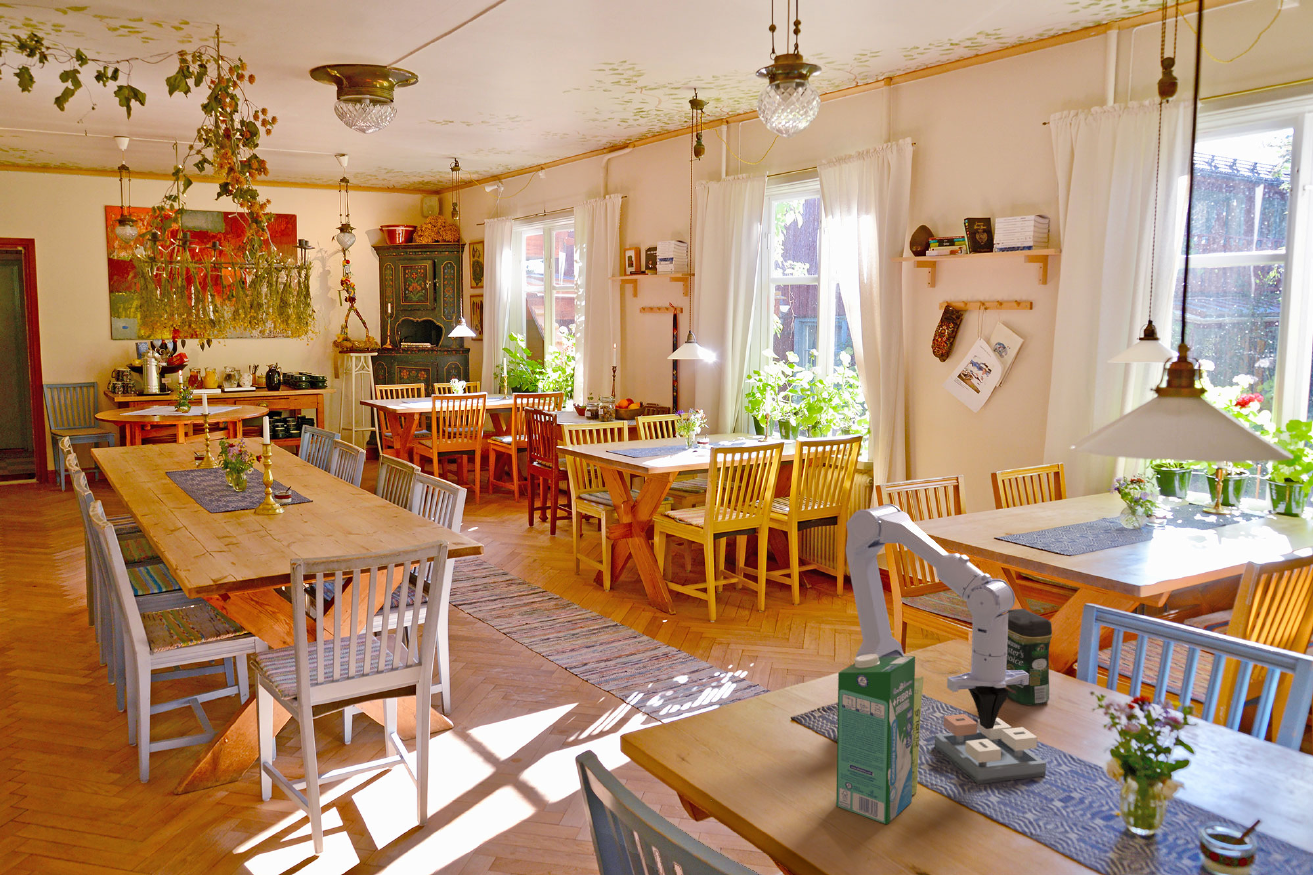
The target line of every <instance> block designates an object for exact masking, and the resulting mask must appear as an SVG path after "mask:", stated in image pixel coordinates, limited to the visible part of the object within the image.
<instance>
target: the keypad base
mask: <svg viewBox="0 0 1313 875" xmlns="http://www.w3.org/2000/svg"><path fill="white" fill-rule="evenodd" d="M980 739H988V740H990V739H989V738H987V737H986V736H985V735H983V734H982V733H981V732H979V731H978V729H977V734H972V735H964V742H957V741H956V736H955V735H954V734H952V733H951V732H947V733H938V734H934V748H935V749H936V750H938V751H939V752H940V754H942V755H943V756H944V757H946V759H948V760H949V761H950V762H951V763H953V764H954V766H956V767H957V768H958V769H959V770H961V771H962V772H963V773H964V774H965V775H966V776H967V777H968V778H970V779H971V780H973V782H975V783H976V784H977V785H982V784H990V783H991V784H992V783H999V782H1009V781H1014V780H1022V779H1023V780H1024V779H1032V778H1039V777H1046V773H1047V772H1046V771H1047V770H1046V769H1047V768H1046V767H1047V763H1046V761H1044V760H1043V759H1041V758H1040V757H1039V756H1038V755H1036V754H1034V752H1032V751H1030V749H1025V750H1023V756H1022V757H1017V756H1015V755H1014V749H1012V748H1011V747H1010V746H1008V745H1007V744H1006V743H1004V742H1003V741H1002V740H1001V739H998V745H997V746H998V747H999V748H1000V749H1001V760H997V761H989V762H987V767H981V768H980V767H979V766H978V762H977V761H976V760H975V759H974V758H972V757H971V756H970V755H969V754H967V753H966V752H965V751H966V741H971V740H980Z"/></svg>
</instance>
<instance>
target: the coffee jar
mask: <svg viewBox="0 0 1313 875" xmlns="http://www.w3.org/2000/svg"><path fill="white" fill-rule="evenodd" d="M1006 613H1008V639H1007V665H1006V670H1023V671H1025V672H1026V673H1028V674H1029V684H1028V685H1022V684H1012V685H1006V687H1005V688H1006V689H1007V690H1008V691H1009V696H1008V698H1009V699H1010V700H1012V701H1014V702H1015V703H1017V704H1020V705H1026V706H1036V707H1037V706H1042V705H1044V704H1046V703H1048V702H1049V700H1050V657H1049V656H1050V644H1051V640H1052V638H1053V629H1052V628H1053V627H1052V626H1053V625H1052V621H1051V620H1049V619H1047V618H1045V617H1043V616H1041V615H1038V614H1036V613H1033V612H1032V611H1029V610H1027V609H1026V608H1015V609H1010V610H1009V611H1007V612H1006Z"/></svg>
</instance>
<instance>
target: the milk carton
mask: <svg viewBox="0 0 1313 875" xmlns="http://www.w3.org/2000/svg"><path fill="white" fill-rule="evenodd" d="M853 660H854V663H853V664H851V665H849V666H848V667H846V668H844V669H842V670H841V671H839V672H838V674H837V676H838V678H837V680H838V681H837V683H838V684H837V732H836V733H837V735H836V736H837V742H836V745H837V746H836V793H835V794H836V802H835V805H836V807H838V808H841V809H843V810H846V811H849V812H851V813H854V814H857V815H860V816H862V817H865V818H867V819H871V820H873V821H877V822H879V823H882V824H884V825H888V824H889V823H890V822H892V820H894V818H896V817H897V816H898V815H899V814H900V813H902V811H904V810H905V808H907V807H908V806H909V805H910V804H911V803H912V800H913V795H912V762H913V723H914V685H915V678H916V674H915V673H916V656H911V655H910V656H909V655H907V656H906V655H905V656H904V657H878V655H877V654H866V655H861V656H858V657H856V656H855V657H854V658H853Z"/></svg>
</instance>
